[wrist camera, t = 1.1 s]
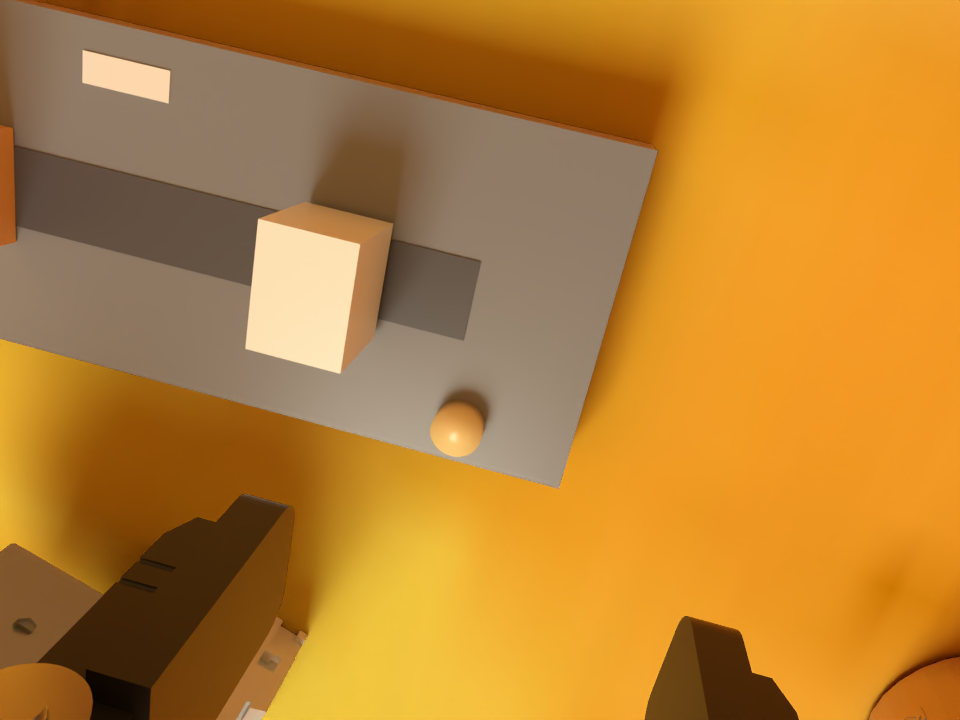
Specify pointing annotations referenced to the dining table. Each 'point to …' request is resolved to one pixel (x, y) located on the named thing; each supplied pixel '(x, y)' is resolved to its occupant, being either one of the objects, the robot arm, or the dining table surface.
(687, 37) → the dining table surface
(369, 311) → the switch
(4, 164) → the cap
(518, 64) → the dining table surface
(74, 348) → the breaker panel
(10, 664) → the circuit breaker
